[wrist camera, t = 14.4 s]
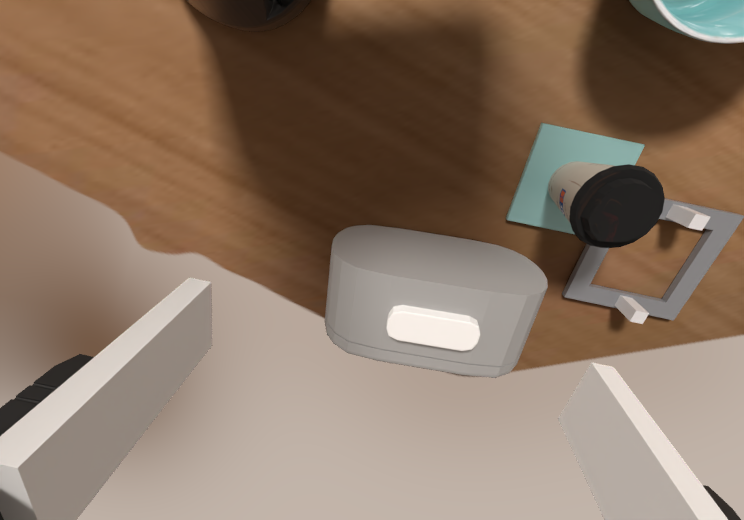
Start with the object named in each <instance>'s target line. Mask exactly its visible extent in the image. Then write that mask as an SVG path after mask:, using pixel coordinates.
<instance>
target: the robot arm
mask: <svg viewBox="0 0 744 520" xmlns="http://www.w3.org/2000/svg"><path fill="white" fill-rule="evenodd" d="M187 1H188V2H189V3H190V4H191V5H192V6H193V7H195V8H196V9H197V10H198V11H200V12H201V13H203V14H204V15H206V16H207V17H209V18H211V19H213V20H215V21H217V22H219V23H221V24H224V25H227V26H229V27H232V28H235V29H239V30H244V31H253V32H256V31H266V30H271V29H274V28H277V27H280V26H282V25H284V24H286V23H287V22H289V21H291V20H292V19H293V18H295V17H296V16H297V15H298V14H299V13H300V12H302V10H303V9H304V8H305V7H306V6H307V5H308V4H309V2H310V1H311V0H187ZM211 294H212V290H211V282H209V281H204V280H199V279H194V278H188V279H187V280H186V281H184V282H183V283H182V284H181V285H180V286H179V287H177V288H176V289H175V290H174V291H173V292H171V293H170V294H169V295H168V296H167V297H165V298H164V299H163V300H162V301H161V302H159V303H158V304H157V305H156V306H155V307H154V308H152V309H151V310H150V311H149V312H148V313H147V314H145V315H144V316H143V317H142V318H140V319H139V320H138V321H137V322H136V323H135V324H133V325H132V326H131V327H130V328H129V329H128V330H126V331H125V332H124V333H123V334H121V335H120V336H119V337H118V338H117V339H115V340H114V341H113V342H112V343H111V344H109V345H108V346H107V347H106V348H105V349H104V350H102V351H101V352H100V353H99V354H98V355H96V356H95V357H91V356H87V355H82V354H79V355H77V356H75V357H73V358H71V359H69V360H67V361H64V362H62V363H60V364H58V365H56V366H54V367H53V368H52V369H50V370H49V371H48V372H46V373H45V374H44V375H43V376H41V377H40V378H39V379H37V380H36V381H35V382H34V384H33V385H32V386H28V387H27V388H26V389H25V390H23V391H22V392H21V393H19V394H18V395H17V396H16V398H15V399H14V400H10V401H9V402H8V403H6V404H5V405H4V406H2V407H1V408H0V520H77V519H78V517H79V516H80V515H81V513H82V512H83V511H84V510H85V508H86V507H87V506H88V504H89V503H90V502H91V501H92V499H93V498H94V497H95V495H96V494H97V493H98V492H99V490H100V489H101V488H102V486H103V485H104V484H105V483H106V481H107V480H108V479H109V477H110V476H111V475H112V474H113V472H114V471H115V470H116V468H117V467H118V466H119V465H120V463H121V462H122V461H123V459H124V458H125V457H126V456H127V454H128V453H129V452H130V450H131V449H132V448H133V447H134V445H135V444H136V442H137V441H138V440H139V439H140V438H141V436H142V435H143V434H144V432H145V431H146V430H147V429H148V427H149V426H150V425H151V423H152V422H153V421H154V420H155V418H156V417H157V416H158V414H159V413H160V412H161V411H162V409H163V408H164V407H165V405H166V404H167V403H168V402H169V400H170V399H171V398H172V396H173V395H174V394H175V393H176V391H177V390H178V389H179V387H180V386H181V385H182V383H183V382H184V381H185V380H186V378H187V377H188V376H189V375H190V373H191V372H192V371H193V370H194V368H195V367H196V366H197V364H198V363H199V362H200V361H201V359H202V358H203V357H204V355H205V354H206V353H207V352H208V350H209V349H210V348H211V346H212V295H211ZM558 420H559V422H560V424H561V427H562V429H563V431H564V433H565V435H566V437H567V439H568V442H569V444H570V446H571V448H572V450H573V453H574V455H575V457H576V459H577V461H578V463H579V466H580V468H581V470H582V472H583V474H584V477H585V479H586V481H587V483H588V485H589V487H590V489H591V492H592V494H593V496H594V498H595V500H596V502H597V505H598V507H599V509H600V511H601V513H602V516H603V517H604V520H741V519H740V518H739V517H738V516H737V514H736V513H735V511H734V510H733V509H732V508H731V507H730V506H729V505H728V504H727V503H726V502H725V501H724V500H723V499H721V498H720V497H719V496H718V495H717V494H716V493H715V492H714V491H713V490H712V489H711V488H710V487H708V486H704V485H702V484H701V483H700V481H699V480H698V479H697V477H696V476H695V475H694V473H693V472H692V471H691V469H690V468H689V467H688V466H687V464H686V463H685V461H684V460H683V459H682V457H681V456H680V455H679V453H678V452H677V451H676V450H675V448H674V447H673V446H672V444H671V443H670V441H669V440H668V439H667V438H666V436H665V435H664V434H663V432H662V431H661V429H660V428H659V427H658V425H657V424H656V423H655V421H654V420H653V419H652V418H651V416H650V415H649V413H648V412H647V411H646V409H645V408H644V407H643V406H642V404H641V403H640V401H639V400H638V399H637V397H636V396H635V395H634V393H633V392H632V391H631V389H630V388H629V387H628V386H627V384H626V383H625V381H624V380H623V379H622V378H621V376H620V375H619V373H618V372H617V371H616V370H615V368H614V367H611V366H605V365H601V364H596V363H591V364H590V366H589V368H588V369H587V371H586V372H585V374H584V376H583V378H582V379H581V381H580V383H579V384H578V386H577V388H576V389H575V391H574V393H573V394H572V396H571V398H570V399H569V401H568V403H567V404H566V406H565V408H564V410H563V411H562V413H561V415H560V416H559V418H558Z"/></svg>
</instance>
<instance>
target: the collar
mask: <svg viewBox="0 0 744 520" xmlns="http://www.w3.org/2000/svg"><path fill="white" fill-rule="evenodd" d="M743 218H744V216H743V215H740V214H737V213H732V212H727V211H722V210H718V209H713V208H708V207H704V206H699V205H694V204H689V203H685V202H680V201H675V200H671V199H666V198H665V201H664V206H663V211H662V214H661V215H660V217H659V219H663V220H667V221H672V222H677V223H679V224H681V225H683V226H685V227H687V228H692V229H696V230H701V231H702V230H703V228H705V229H706V231H705V232H704V234H703V235H702V237H701V238H700V240H699V242H698V243H697V245H696V246H695V248H694V249H693V251H692V252H691V254H690V256H689V257H688V259H687V260H686V262H685V263H684V265H683V266H682V268H681V270H680V271H679V273H678V274H677V276H676V277H675V279H674V280H673V282H672V284H671V285H670V287H669V288H668V290H667V291H666V293H665V294H664V296H663V298H662V299H660V298H655V297H650V296H646V295H641V294H636V293H631V292H627V291H622V290H617V289H613V288H608V287H603V286H598V285H594V284H590V283H591V281H592V280H593V278H594V276H595V274H596V272H597V270H598V268H599V266H600V264H601V262H602V261H603V259H604V257H605V255H606V253H607V251H608V249H609V248H600V247H595V246H590V245H588V244H586V246H585V248H584V250H583V252H582V254H581V256H580V258H579V260H578V262H577V264H576V266H575V268H574V270H573V272H572V274H571V276H570V278H569V280H568V282H567V284H566V286H565V288H564V290H563V292H562V295H563V296H564V297H566V298H571V299H575V300H580V301H585V302H590V303H594V304H599V305H604V306H608V307H613V308H617V309H618V310H619V311H620V312H621V313H622V314H623V315H624V316H625V317H626V318H627V319H628V320H629V321H631V322H636V323H641V324H643V322H644V321H645V319H646V318H647V316H648V315H651V316H655V317H660V318H665V319H670V320H674V319H675V318H676V316H677V315H678V313H679V312H680V310H681V309H682V307H683V306H684V304H685V303H686V301H687V300H688V298H689V297H690V296H691V294H692V293H693V291H694V290H695V288H696V287H697V285H698V284H699V282H700V281H701V279H702V278H703V276H704V275H705V274H706V272H707V271H708V269H709V268H710V266H711V265H712V263H713V262H714V260H715V259H716V257H717V256H718V254H719V253H720V251H721V250H722V249H723V247H724V246H725V244H726V243H727V241H728V240H729V238H730V237H731V235H732V234H733V232H734V231H735V229H736V228H737V227H738V225H739V224H740V222H741V221H742V219H743Z"/></svg>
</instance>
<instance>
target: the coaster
mask: <svg viewBox="0 0 744 520" xmlns="http://www.w3.org/2000/svg"><path fill="white" fill-rule="evenodd" d="M644 146H645V145H644V144H639V143H634V142H630V141H625V140H620V139H616V138H611V137H606V136H601V135H597V134H592V133H587V132H582V131H578V130H573V129H568V128H563V127H559V126H554V125H549V124H545V123H541V125H540V127H539V130H538V133H537V136H536V138H535V141H534V144H533V146H532V149H531V152H530V154H529V157H528V160H527V162H526V165H525V168H524V170H523V173H522V176H521V178H520V181H519V184H518V186H517V189H516V192H515V194H514V197H513V200H512V202H511V205H510V208H509V211H508V213H507V216H506V219H507V220H509V221H514V222H519V223H524V224H528V225H533V226H538V227H542V228H547V229H552V230H557V231H561V232H566V233H571V234H575V233H574V232H573V231H572V227H571V224H570V222H569V221H568V220H567V218H566V217H565V216H564V214H563V213H562V212H561V210H560V209H559V208H558V206H557V205H556V204H555V202H554V201H553V200H552V199H551V197H550V195H549V192H548V183H549V181H550V178H551V176H552V175H553V173H554V172H555V171H556V170H557V169H558V168H559V167H561V166H562V165H564V164H567V163H569V162H575V161H579V162H588V163H597V164H606V165H614V166H619V165H627V164H630V165H635V164H636V162H637V160H638V158H639V156H640V154H641V152H642V150H643V148H644ZM575 235H576V234H575Z"/></svg>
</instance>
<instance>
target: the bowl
mask: <svg viewBox="0 0 744 520" xmlns="http://www.w3.org/2000/svg"><path fill="white" fill-rule="evenodd" d="M629 1H630V2H631V4H632V5H633V6H634V7H635V8H636V9H637V10H638V11H639V12H640V13H641V14H642V15H644V16H645V17H647V18H649V19H651V20H653V21H655V22H656V23H658V24H660V25H662V26H664V27H666V28H668V29H671V30H673V31H675V32H678V33H680V34H683V35H686V36H688V37H691V38H694V39H697V40H701V41H706V42H712V43H723V44H729V43H741V42H744V0H629Z"/></svg>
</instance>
